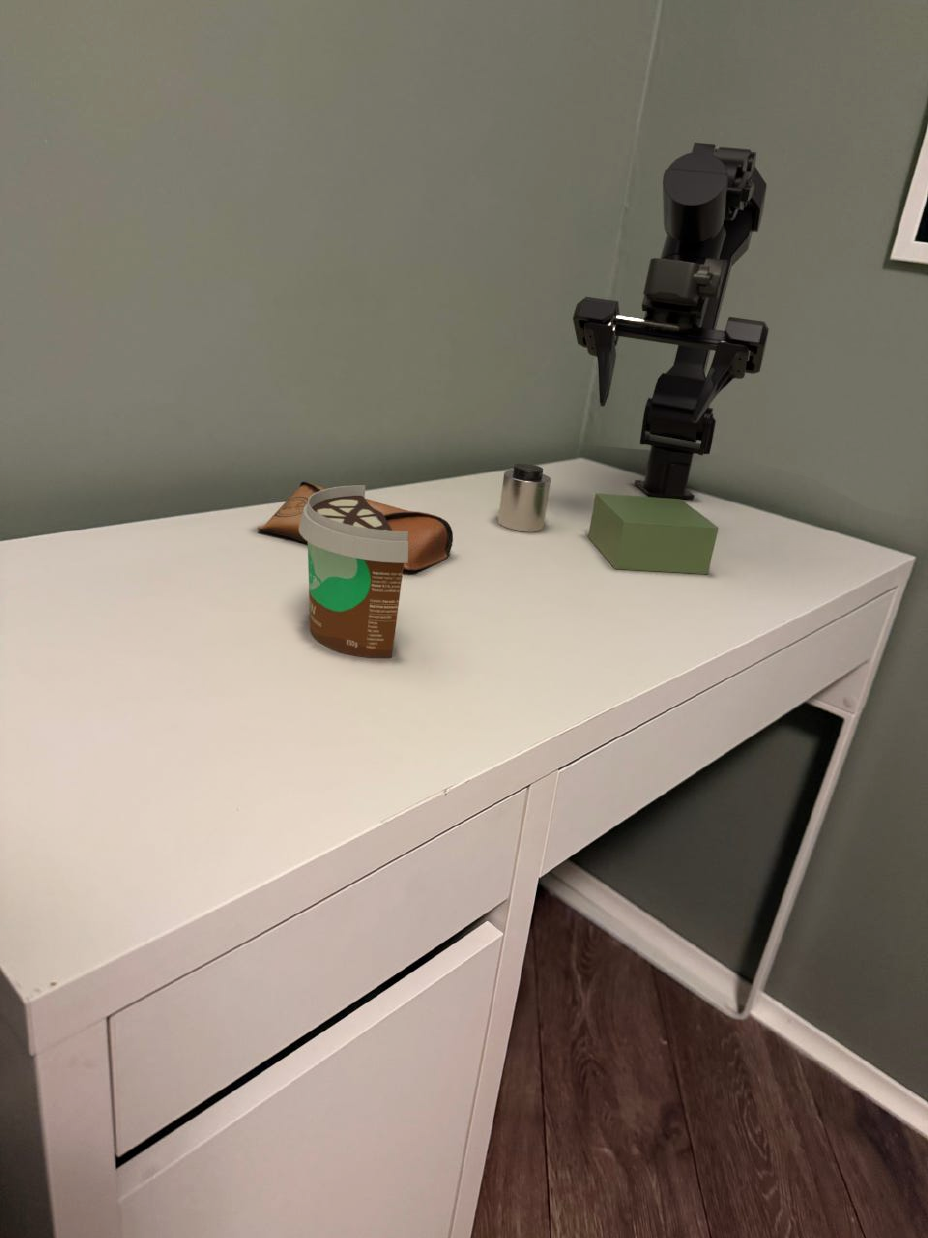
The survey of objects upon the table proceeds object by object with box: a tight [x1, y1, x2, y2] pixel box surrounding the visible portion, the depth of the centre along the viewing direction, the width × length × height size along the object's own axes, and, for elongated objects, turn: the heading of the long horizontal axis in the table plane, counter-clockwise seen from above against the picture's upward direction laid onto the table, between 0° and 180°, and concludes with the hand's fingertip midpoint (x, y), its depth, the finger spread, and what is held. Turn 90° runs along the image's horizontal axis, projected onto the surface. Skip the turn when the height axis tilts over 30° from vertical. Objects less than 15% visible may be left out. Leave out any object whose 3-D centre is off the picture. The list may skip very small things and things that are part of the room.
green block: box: [587, 492, 719, 575], centre depth 94 cm, size 10×10×5 cm
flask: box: [497, 463, 552, 533], centre depth 98 cm, size 5×5×6 cm
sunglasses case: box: [257, 481, 454, 572], centre depth 87 cm, size 18×7×7 cm
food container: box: [298, 484, 408, 659], centre depth 66 cm, size 12×6×10 cm, turn 21°
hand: (647, 412), depth 88 cm, fingers open, 9 cm apart
